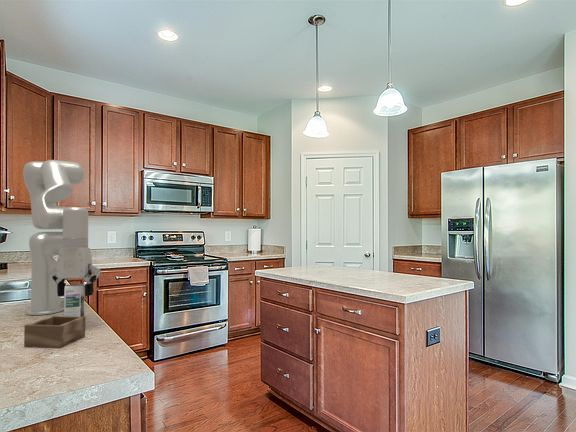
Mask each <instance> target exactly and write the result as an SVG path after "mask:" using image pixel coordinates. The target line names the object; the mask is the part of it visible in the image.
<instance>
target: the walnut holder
mask: <svg viewBox="0 0 576 432" xmlns="http://www.w3.org/2000/svg"><path fill="white" fill-rule="evenodd" d="M23 327H24V333H23V334H24V335H23V336H24V337H23V338H24V339H23V340H24V341H23V346H24V348H46V349H47V348H48V349H62V348H63V347H65V346H69V344H71V343H74V342H76V341H78V340H80V339H83V338H85V337H86V316H84V317H71V316H64V315H61V316H60V315H59V316H58V315H52V316H49V317H45V318H43V319H40V320H37V321H35V322H30V323H29V324H25V325H24V326H23Z"/></svg>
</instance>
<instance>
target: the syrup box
mask: <svg viewBox="0 0 576 432" xmlns="http://www.w3.org/2000/svg"><path fill="white" fill-rule="evenodd" d="M63 296H64V297H63V298H64V302H63V303H64V304H63V306H64V310H63V311H64V314H63V316H71V317H85V283H75V284H66V285H65V288H64V295H63Z"/></svg>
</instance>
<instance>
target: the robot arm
mask: <svg viewBox="0 0 576 432" xmlns="http://www.w3.org/2000/svg"><path fill="white" fill-rule="evenodd" d="M22 172H23V173H22V174H23V175H22V177H23V181H24V185H25V187H26V189H27V191H28V194H29V196H30V206H31V207H30V208H31V209H30V210H31V211H30V212H31V221H32V225H33V226H34V228H36V229H37V230H62V231H40V232H35V233H33V234H32V235H30V237H29V240H28V245H29V246H28V247H29V253H30V258H31V263H30V264H31V278H30V279H31V282H30V283H31V284H30V285H31V286H30V288H31V290H30V291H31V292H30V308H28V309H26V311H25V314H26V315H28V316H29V315H30V316H44V315H51V314H56V313H61V312H62V311H64V305H62V304H63V303H64V297H61V296H64V288H65V285H67V283H66V281H67V280H71V279H73V280H74V279H78V280H81V279H83V280H84V281H85V283H86V284H85V283H84V297H90V296H93V294H94V283H96V281H97V280H98V279H99V276H100V274H101V272H102V270H101V269H100V268H98V267H96V266H94V265H93V259H92V256H93V255H92V251H91V248H90V247H89V211H88V209H87V208H86V207H83V206H82V207H81V206H79V207H78V206H58V205H57V203H58V202H61V201H64V200H66V199H68V198H69V197H70V196H71V195H72V194H73V190H74V189H73V185H78V184H81V183H82V182H83V181H84V178H85V172H84V169H83V166H82V165H81V164H80V163H79V162H76V161H68V160H57V159H49V160H45V161H37V160H36V161H34V160H33V161H30V162H27V163H25V165H24V166H23V170H22ZM54 256H57V260H56V259H55V258H54Z"/></svg>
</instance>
